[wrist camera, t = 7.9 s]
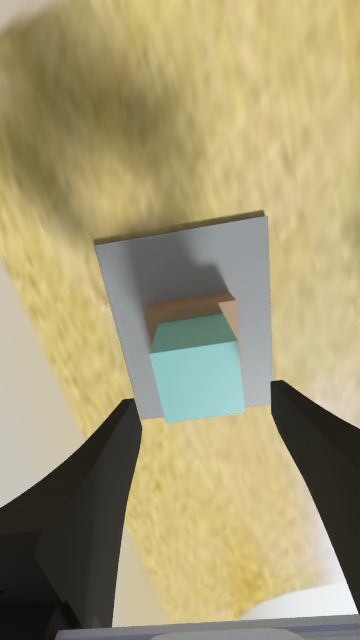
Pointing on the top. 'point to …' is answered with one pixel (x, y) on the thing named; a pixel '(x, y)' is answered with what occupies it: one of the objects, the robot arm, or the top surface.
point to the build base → (190, 278)
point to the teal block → (197, 369)
